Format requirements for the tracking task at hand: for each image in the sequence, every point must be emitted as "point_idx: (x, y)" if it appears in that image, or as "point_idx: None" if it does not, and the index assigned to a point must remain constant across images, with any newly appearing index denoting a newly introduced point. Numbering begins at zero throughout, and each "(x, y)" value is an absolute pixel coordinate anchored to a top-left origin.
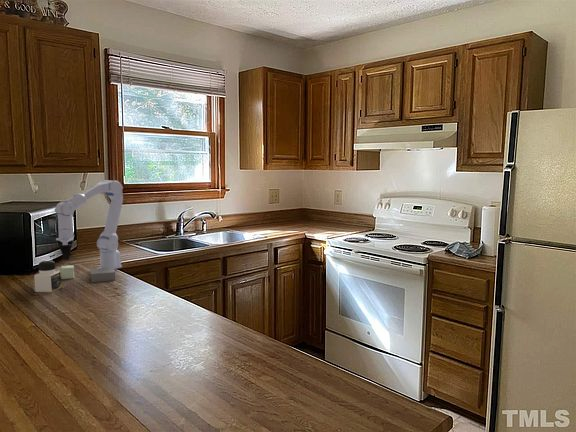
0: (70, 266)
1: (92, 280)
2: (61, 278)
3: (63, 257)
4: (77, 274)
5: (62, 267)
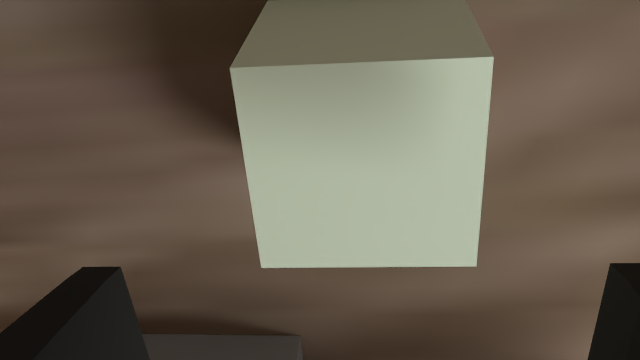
0: (374, 224)
1: None
2: (266, 4)
3: (30, 318)
4: (495, 198)
5: (325, 90)
